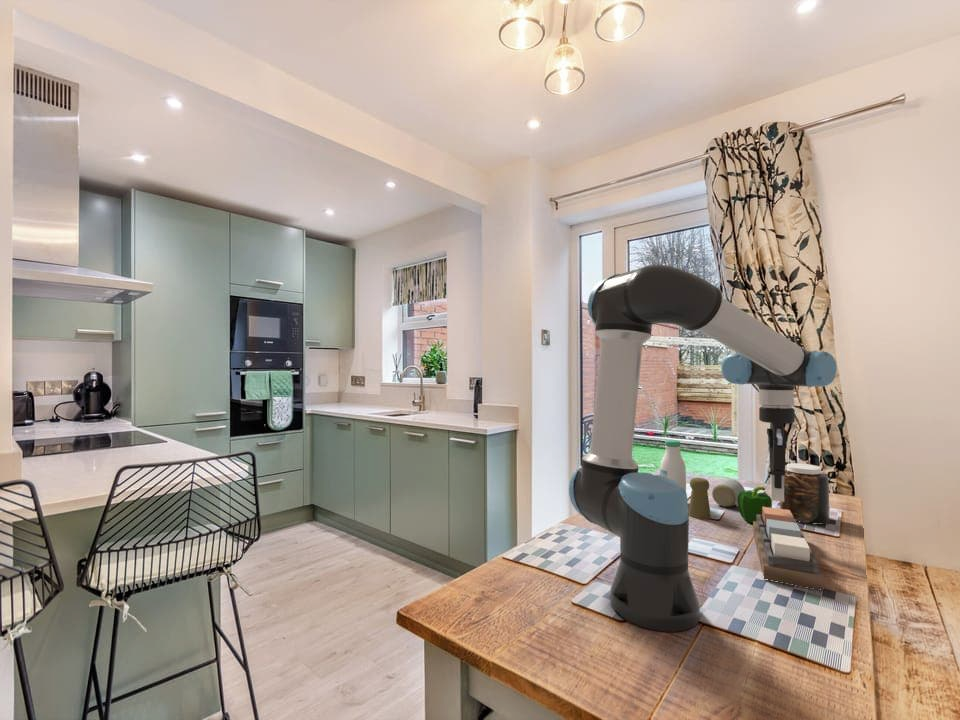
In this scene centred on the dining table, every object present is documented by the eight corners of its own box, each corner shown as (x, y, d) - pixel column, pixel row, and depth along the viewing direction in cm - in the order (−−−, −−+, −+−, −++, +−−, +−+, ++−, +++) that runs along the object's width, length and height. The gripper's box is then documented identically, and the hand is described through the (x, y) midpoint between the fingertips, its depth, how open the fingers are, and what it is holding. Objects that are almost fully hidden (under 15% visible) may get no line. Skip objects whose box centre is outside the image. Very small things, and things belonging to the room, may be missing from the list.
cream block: (809, 563, 91) (809, 548, 91) (774, 557, 94) (774, 543, 94) (804, 552, 96) (804, 538, 96) (771, 547, 99) (771, 533, 99)
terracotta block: (793, 529, 110) (793, 517, 110) (764, 525, 112) (764, 513, 112) (790, 521, 115) (789, 510, 115) (762, 518, 118) (762, 506, 118)
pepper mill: (706, 512, 136) (706, 476, 136) (714, 519, 130) (714, 481, 130) (685, 512, 136) (685, 475, 136) (692, 519, 130) (692, 480, 130)
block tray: (823, 591, 89) (823, 565, 89) (764, 580, 93) (763, 555, 93) (798, 538, 115) (798, 519, 115) (753, 532, 120) (752, 513, 120)
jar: (832, 528, 123) (831, 472, 123) (780, 520, 129) (780, 467, 129) (826, 515, 133) (826, 464, 133) (779, 509, 139) (778, 460, 140)
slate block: (801, 544, 100) (800, 531, 100) (769, 540, 103) (769, 526, 103) (796, 535, 106) (796, 522, 106) (766, 531, 108) (766, 518, 108)
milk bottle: (687, 501, 147) (687, 440, 147) (684, 508, 140) (683, 443, 141) (662, 497, 151) (662, 438, 151) (658, 504, 144) (657, 441, 145)
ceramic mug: (710, 504, 144) (710, 480, 143) (720, 499, 149) (720, 476, 149) (747, 513, 136) (747, 488, 136) (756, 507, 141) (756, 483, 141)
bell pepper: (733, 521, 128) (733, 486, 129) (742, 514, 134) (742, 480, 134) (768, 528, 123) (767, 492, 123) (775, 521, 128) (775, 486, 128)
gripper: (798, 409, 107) (799, 509, 106) (790, 405, 118) (791, 495, 118) (761, 408, 110) (762, 505, 110) (757, 403, 122) (757, 491, 121)
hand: (777, 500), depth 114 cm, fingers closed
